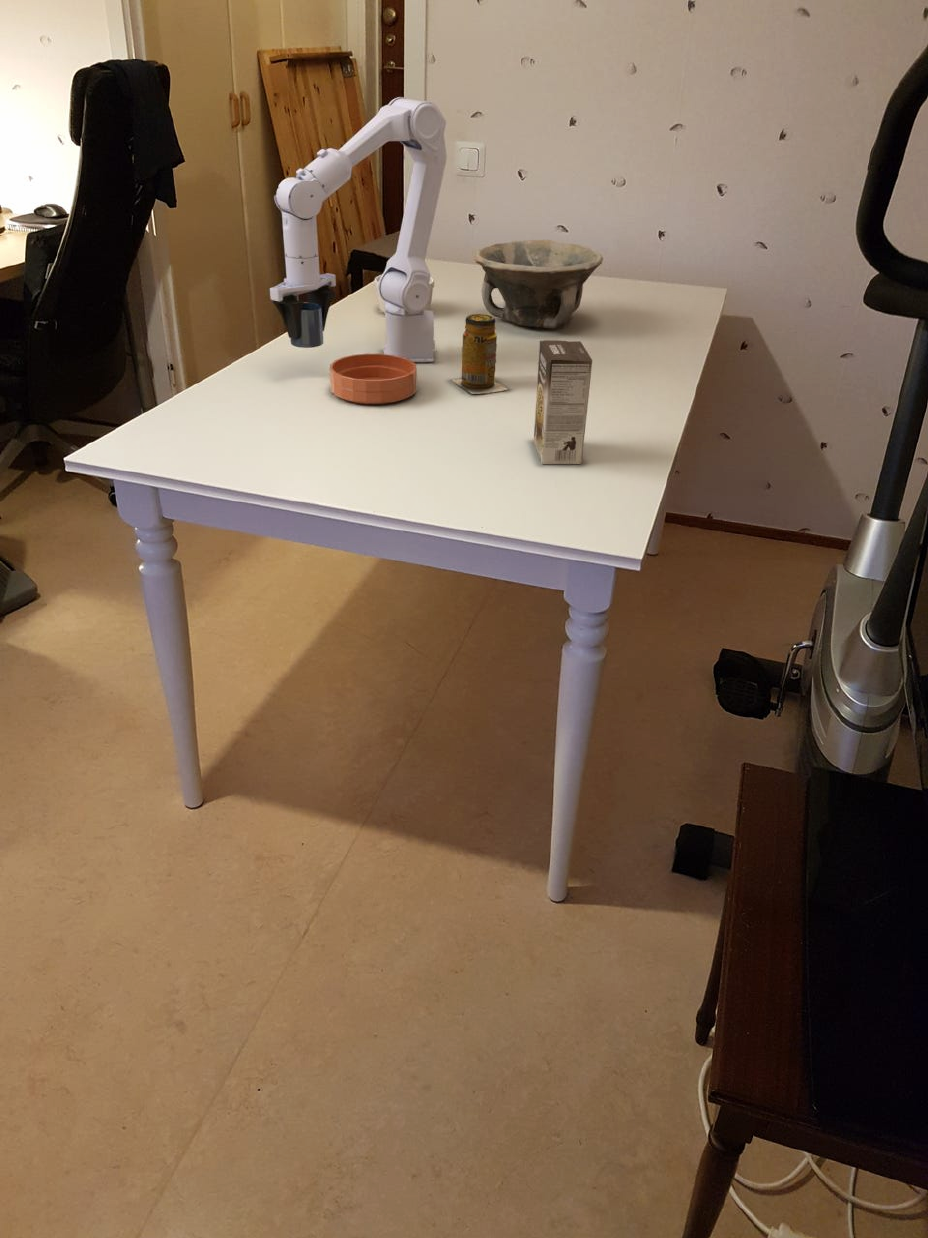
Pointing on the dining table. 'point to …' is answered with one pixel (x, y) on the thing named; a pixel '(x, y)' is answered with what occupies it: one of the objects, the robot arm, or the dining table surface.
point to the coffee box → (561, 401)
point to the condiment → (479, 355)
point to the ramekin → (382, 303)
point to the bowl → (536, 280)
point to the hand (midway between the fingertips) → (306, 333)
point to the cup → (310, 326)
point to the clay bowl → (373, 378)
